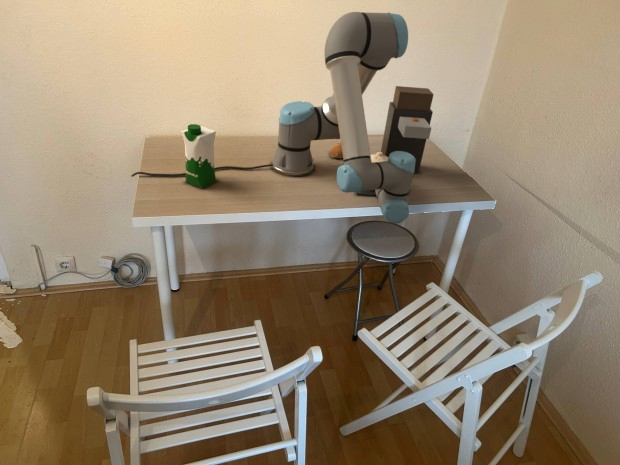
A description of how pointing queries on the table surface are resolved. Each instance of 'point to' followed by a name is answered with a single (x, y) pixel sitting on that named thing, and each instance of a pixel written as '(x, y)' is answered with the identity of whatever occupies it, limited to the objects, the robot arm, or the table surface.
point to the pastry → (337, 151)
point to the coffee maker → (408, 122)
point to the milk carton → (199, 155)
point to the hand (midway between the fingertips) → (374, 159)
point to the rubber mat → (367, 193)
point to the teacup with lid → (378, 157)
